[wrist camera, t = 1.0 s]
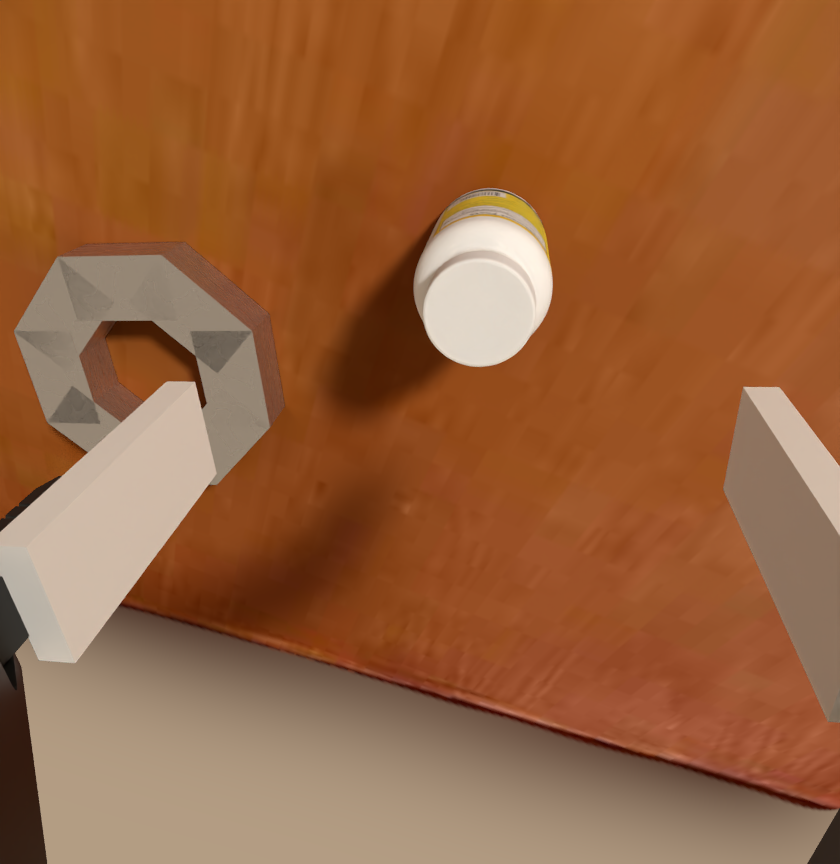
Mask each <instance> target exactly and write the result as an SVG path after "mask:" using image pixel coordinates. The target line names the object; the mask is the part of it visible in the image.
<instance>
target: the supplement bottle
mask: <svg viewBox="0 0 840 864" xmlns="http://www.w3.org/2000/svg"><path fill="white" fill-rule="evenodd" d="M552 287H553V282H552V270H551V264H550V258H549V251H548V244H547V238H546V234H545V230H544V227H543V224H542V222H541V220H540V218H539V216H538V215H537V213H536V212H535V210H534V209H533V208H532V207H531V206H530V205H529V204H528V203H527V202H526V201H525V200H524V199H522V198H521V197H519V196H517V195H515V194H513V193H511V192H509V191H506V190H501V189H494V188H486V189H478V190H475V191H471V192H469V193H466V194H464V195H462V196H460V197H459V198H457V199H456V200H455V201H453V202H452V203H451V204H450V205H449V206H448V207H447V208H446V209H445V211H444V212H443V213H442V214H441V216H440V218H439V219H438V221H437V223H436V225H435V227H434V229H433V231H432V233H431V236H430V238H429V240H428V242H427V244H426V246H425V248H424V251H423V253H422V255H421V257H420V259H419V262H418V264H417V267H416V271H415V276H414V299H415V303H416V307H417V310H418V313H419V315H420V317H421V319H422V321H423V323H424V327H425V330H426V332H427V335H428V337H429V339H430V340H431V342H432V343H433V345H434V346H435V347H436V348H437V349H438V350H439V351H440V352H441V353H442V354H443V355H445V356H446V357H447V358H449V359H451V360H453V361H455V362H457V363H460V364H463V365H467V366H474V367H484V366H491V365H495V364H498V363H501V362H503V361H505V360H507V359H509V358H511V357H512V356H513V355H515V354H516V353H517V352H518V351H519V350H520V349H521V348H522V347H523V346H524V345H525V344H526V342H527V341H528V339H529V337H530V336H531V335H532V334H533V333H534V332H535V331H536V329H537V328H538V327H539V325H540V324H541V322H542V321H543V319H544V317H545V315H546V313H547V311H548V308H549V306H550V302H551V297H552Z"/></svg>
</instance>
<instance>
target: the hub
mask: <svg viewBox="0 0 840 864" xmlns="http://www.w3.org/2000/svg"><path fill="white" fill-rule="evenodd" d="M116 321H153V322H154V323H155V324H156V325H158V326H159V327H160V328H161V329H163V330H164V331H165V332H166V333H168V334H169V335H170V336H171V337H173V338H174V339H175V340H176V341H178V342H179V343H180V344H181V345H183V346H184V347H185V348H186V349H187V350H189V351H190V352H191V353H192V354H194V355H195V356H196V359H197V363H198V367H199V372H200V376H201V380H202V385H203V389H204V393H205V398H206V402H207V404H206V405H205V407H204V408H203V409H202V413H203V418H204V422H205V426H206V430H207V435H208V439H209V443H210V447H211V451H212V456H213V460H214V464H215V468H216V473H217V474H216V475H215V477H214V478H213V479H212V481H211V482H210V483H209V485H217V484H218V483H219V482H220V481H221V480H222V478H223V477H224V476H225V475H226V474H227V473H228V472H229V471H230V470H231V469H232V468H233V467H234V466H235V464H236V463H237V462H238V461H239V460H240V459H241V458H242V457H243V456H244V455H245V454H246V453H247V452H248V450H249V449H250V448H251V447H252V446H253V445H254V444H255V443H256V442H257V441H258V440H259V439H260V437H261V436H262V435H263V434H264V433H265V432H266V431H267V430H268V429H269V428H270V427H271V425H272V424H273V422H274V421H275V419H276V418H277V416H278V415H279V414H280V412H281V411H282V409H283V408H284V406H285V404H284V398H283V393H282V387H281V381H280V375H279V369H278V363H277V357H276V351H275V346H274V340H273V334H272V328H271V322H270V316H269V313H267V312H266V311H265V310H264V309H263V308H262V307H260V306H259V305H258V304H257V303H256V302H254V301H253V300H252V299H251V298H250V297H249V296H247V295H246V294H245V293H244V292H243V291H242V290H240V289H239V288H238V287H237V286H236V285H235V284H233V283H232V282H231V281H230V280H229V279H227V278H226V277H225V276H224V275H223V274H222V273H220V272H219V271H218V270H217V269H216V268H215V267H213V266H212V265H211V264H210V263H209V262H208V261H206V260H205V259H204V258H203V257H202V256H200V255H199V254H198V253H197V252H196V251H195V250H193V249H192V248H191V247H190V246H189V245H188V244H186V243H185V242H159V243H114V244H86V245H83V246H81V247H79V248H76V249H74V250H72V251H70V252H67V253H65V254H63V255H60V256H58V257H57V258H56V260H55V262H54V264H53V265H52V267H51V269H50V270H49V272H48V274H47V276H46V277H45V279H44V281H43V282H42V284H41V286H40V288H39V289H38V291H37V293H36V294H35V296H34V298H33V300H32V301H31V303H30V305H29V306H28V308H27V310H26V312H25V313H24V315H23V317H22V318H21V320H20V322H19V324H18V325H17V327H16V329H15V330H14V333H15V336H16V339H17V341H18V344H19V347H20V349H21V352H22V355H23V358H24V360H25V363H26V366H27V368H28V371H29V374H30V377H31V379H32V382H33V385H34V388H35V390H36V393H37V396H38V398H39V401H40V404H41V407H42V409H43V412H44V415H45V417H46V420H47V423H49V424H50V425H51V426H53V427H54V428H55V429H57V430H58V431H60V432H61V433H62V434H64V435H65V436H66V437H68V438H69V439H71V440H72V441H73V442H75V443H76V444H77V445H79V446H80V447H81V448H83V449H84V450H86V451H87V452H89V451H91V450H92V449H93V448H94V447H95V446H96V445H97V444H98V443H99V442H100V441H102V440H103V439H104V438H105V437H106V436H107V435H108V434H109V433H110V432H112V431H113V430H114V429H115V428H116V427H117V426H118V425H119V424H120V423H122V422H123V421H124V420H125V419H126V418H127V417H128V416H129V415H130V414H132V413H133V412H134V411H135V410H136V409H137V408H138V407H139V406H140V405H141V404H143V403H144V402H143V401H142V400H140V399H139V398H138V397H137V396H135V395H134V394H133V393H131V392H130V391H129V390H127V389H126V388H125V387H124V386H122V385H121V384H120V383H118V380H117V377H116V374H115V370H114V367H113V364H112V360H111V357H110V354H109V350H108V347H107V343H106V340H105V337H106V336H107V334H108V333H109V331H110V330H111V328H112V327H113V325H114V324H115V323H116Z"/></svg>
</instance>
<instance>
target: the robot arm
mask: <svg viewBox="0 0 840 864" xmlns="http://www.w3.org/2000/svg"><path fill="white" fill-rule="evenodd" d="M216 474H217V473H216V468H215V464H214V460H213V456H212V451H211V447H210V443H209V439H208V435H207V430H206V426H205V422H204V418H203V413H202V409H201V405H200V401H199V397H198V392H197V388H196V384H195V382H166V383H165V384H164V385H163V386H161V387H160V388H159V389H158V390H157V391H156V392H155V393H154V394H153V395H151V396H150V397H149V398H148V399H147V400H146V401H145V402H144V403H143V404H141V405H140V406H139V407H138V408H137V409H136V410H135V411H134V412H133V413H132V414H130V415H129V416H128V417H127V418H126V419H125V420H124V421H123V422H122V423H120V424H119V425H118V426H117V427H116V428H115V429H114V430H113V431H112V432H110V433H109V434H108V435H107V436H106V437H105V438H104V439H103V440H102V441H100V442H99V443H98V444H97V445H96V446H95V447H94V448H93V449H92V450H91V451H89V452H88V453H87V454H86V455H85V456H84V457H83V458H82V459H81V460H79V461H78V462H77V463H76V464H75V465H74V466H73V467H72V468H71V469H69V470H68V471H67V472H66V473H65V474H64V475H63V476H58V477H56V478H54V479H53V480H51V481H49V482H47V483H45V484H44V485H42V486H40V487H38V488H36V489H35V490H34V491H33V492H32V493H30V494H29V495H28V496H27V497H26V498H25V499H24V500H22V501H21V502H20V503H19V506H16V507H14V508H13V509H12V510H11V511H10V512H9V513H8V514H7V515H6V518H5V519H3V518H2V519H1V520H0V864H47V859H46V851H45V843H44V835H43V828H42V821H41V813H40V805H39V798H38V790H37V782H36V775H35V767H34V760H33V753H32V744H31V737H30V729H29V722H28V714H27V707H26V699H25V692H24V684H23V676H22V669H21V666H20V663H19V661H18V659H17V657H16V655H15V652H16V651H17V650H18V649H19V648H20V646H21V645H22V644H23V643H24V642H25V641H26V639H27V638H29V640H30V643H31V645H32V646H33V649H34V651H35V653H36V655H37V658H38V660H40V661H53V662H65V663H76V662H77V661H78V659H79V658H80V657H81V655H82V654H83V653H84V651H85V650H86V649H87V647H88V646H89V645H90V643H91V642H92V641H93V639H94V638H95V636H96V635H97V634H98V633H99V631H100V630H101V628H102V627H103V626H104V624H105V623H106V622H107V620H108V619H109V618H110V616H111V615H112V614H113V612H114V611H115V610H116V608H117V607H118V606H119V604H120V603H121V602H122V600H123V599H124V598H125V596H126V595H127V594H128V592H129V591H130V590H131V588H132V587H133V585H134V584H135V583H136V581H137V580H138V579H139V577H140V576H141V575H142V573H143V572H144V571H145V569H146V568H147V567H148V565H149V564H150V563H151V561H152V560H153V559H154V557H155V556H156V555H157V553H158V552H159V551H160V549H161V548H162V547H163V545H164V544H165V543H166V541H167V540H168V538H169V537H170V536H171V534H172V533H173V532H174V530H175V529H176V528H177V526H178V525H179V524H180V522H181V521H182V520H183V518H184V517H185V516H186V514H187V513H188V512H189V510H190V509H191V508H192V506H193V505H194V504H195V502H196V501H197V500H198V498H199V497H200V495H201V494H202V493H203V491H204V490H205V489H206V487H207V486H208V485H209V483H210V482H211V481H212V479H213V478H214V477H215V475H216ZM723 490H724V492H725V494H726V497H727V499H728V501H729V503H730V505H731V508H732V510H733V512H734V514H735V516H736V519H737V521H738V523H739V525H740V528H741V530H742V532H743V534H744V536H745V539H746V541H747V543H748V545H749V548H750V550H751V552H752V554H753V556H754V559H755V561H756V563H757V565H758V567H759V570H760V572H761V574H762V576H763V579H764V581H765V583H766V585H767V587H768V590H769V592H770V594H771V596H772V599H773V601H774V603H775V605H776V607H777V610H778V612H779V614H780V616H781V619H782V621H783V623H784V625H785V627H786V630H787V632H788V634H789V636H790V638H791V641H792V643H793V645H794V647H795V650H796V652H797V654H798V656H799V658H800V661H801V663H802V665H803V667H804V670H805V672H806V674H807V676H808V678H809V681H810V683H811V685H812V687H813V689H814V692H815V694H816V696H817V698H818V701H819V703H820V705H821V707H822V709H823V712H824V714H825V716H826V718H827V721H828V722H840V466H839V465H838V464H837V462H836V461H835V460H834V458H833V457H832V456H831V454H830V453H829V452H828V450H827V449H826V448H825V447H824V445H823V444H822V443H821V441H820V440H819V439H818V437H817V436H816V435H815V433H814V432H813V431H812V429H811V428H810V427H809V425H808V424H807V423H806V422H805V420H804V419H803V418H802V416H801V415H800V414H799V412H798V411H797V410H796V408H795V407H794V406H793V404H792V403H791V402H790V400H789V399H788V398H787V396H786V395H785V394H784V393H783V391H782V390H781V389H780V387H743V391H742V396H741V401H740V406H739V411H738V416H737V421H736V426H735V432H734V437H733V442H732V447H731V452H730V457H729V462H728V467H727V472H726V478H725V483H724V488H723ZM808 864H840V809H839V810H838V812H837V814H836V816H835V817H834V819H833V821H832V822H831V824H830V826H829V828H828V829H827V831H826V833H825V834H824V836H823V838H822V840H821V841H820V843H819V845H818V846H817V848H816V850H815V852H814V854H813V855H812V857H811V858H810V860H809V862H808Z"/></svg>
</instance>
